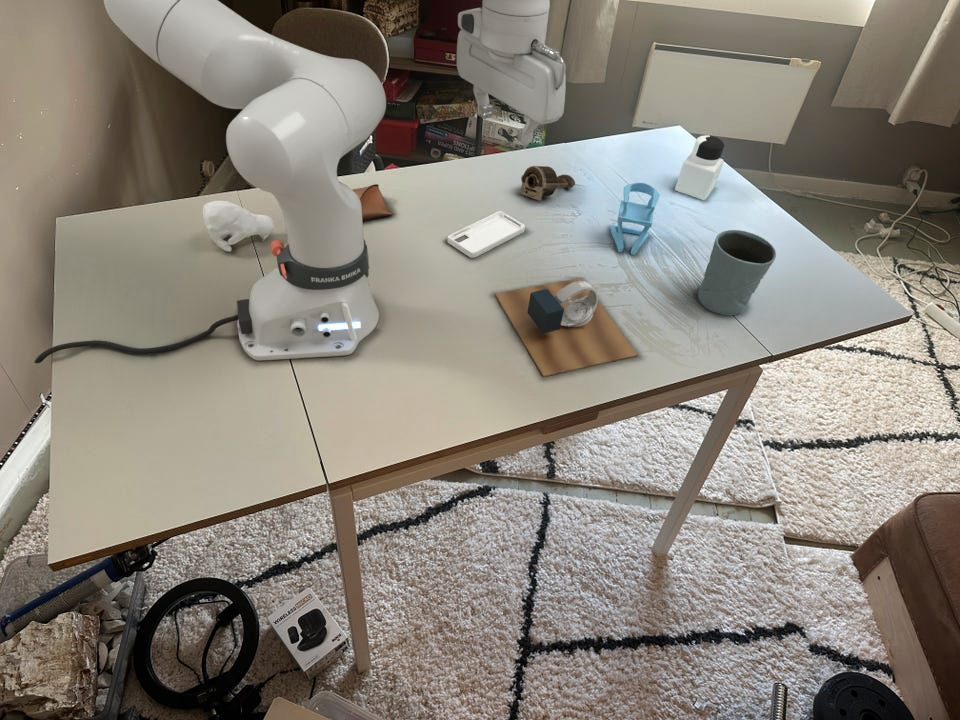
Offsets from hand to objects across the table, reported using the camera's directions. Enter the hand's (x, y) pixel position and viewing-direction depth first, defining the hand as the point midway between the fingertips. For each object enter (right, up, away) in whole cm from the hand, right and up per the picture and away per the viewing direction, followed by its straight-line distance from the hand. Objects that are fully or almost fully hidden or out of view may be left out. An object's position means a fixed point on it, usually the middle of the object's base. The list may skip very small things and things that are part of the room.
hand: (503, 128), depth 95 cm
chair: (+26, -11, +33) cm, 44 cm away
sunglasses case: (-30, -6, +33) cm, 45 cm away
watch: (+5, -27, +8) cm, 29 cm away
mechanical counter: (+11, +2, +44) cm, 46 cm away
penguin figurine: (-48, -12, +24) cm, 55 cm away
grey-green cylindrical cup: (+41, -24, +22) cm, 52 cm away
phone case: (-2, -10, +31) cm, 33 cm away
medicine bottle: (+45, +4, +50) cm, 68 cm away
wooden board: (+11, -28, +14) cm, 33 cm away
